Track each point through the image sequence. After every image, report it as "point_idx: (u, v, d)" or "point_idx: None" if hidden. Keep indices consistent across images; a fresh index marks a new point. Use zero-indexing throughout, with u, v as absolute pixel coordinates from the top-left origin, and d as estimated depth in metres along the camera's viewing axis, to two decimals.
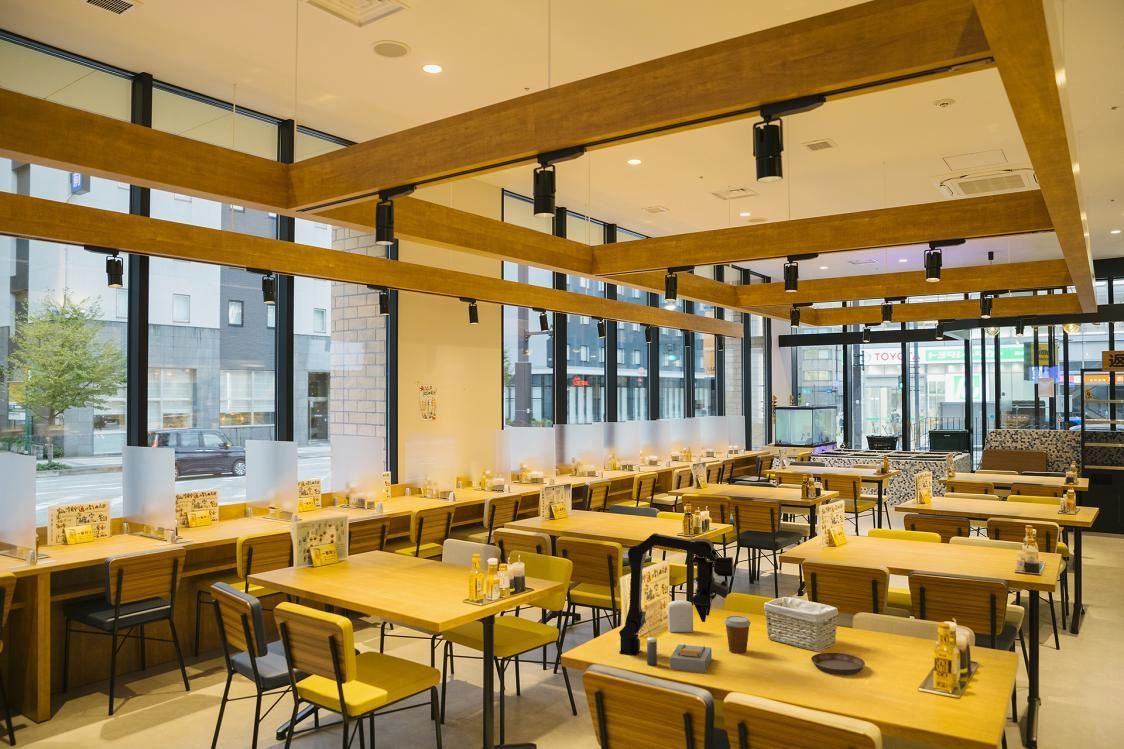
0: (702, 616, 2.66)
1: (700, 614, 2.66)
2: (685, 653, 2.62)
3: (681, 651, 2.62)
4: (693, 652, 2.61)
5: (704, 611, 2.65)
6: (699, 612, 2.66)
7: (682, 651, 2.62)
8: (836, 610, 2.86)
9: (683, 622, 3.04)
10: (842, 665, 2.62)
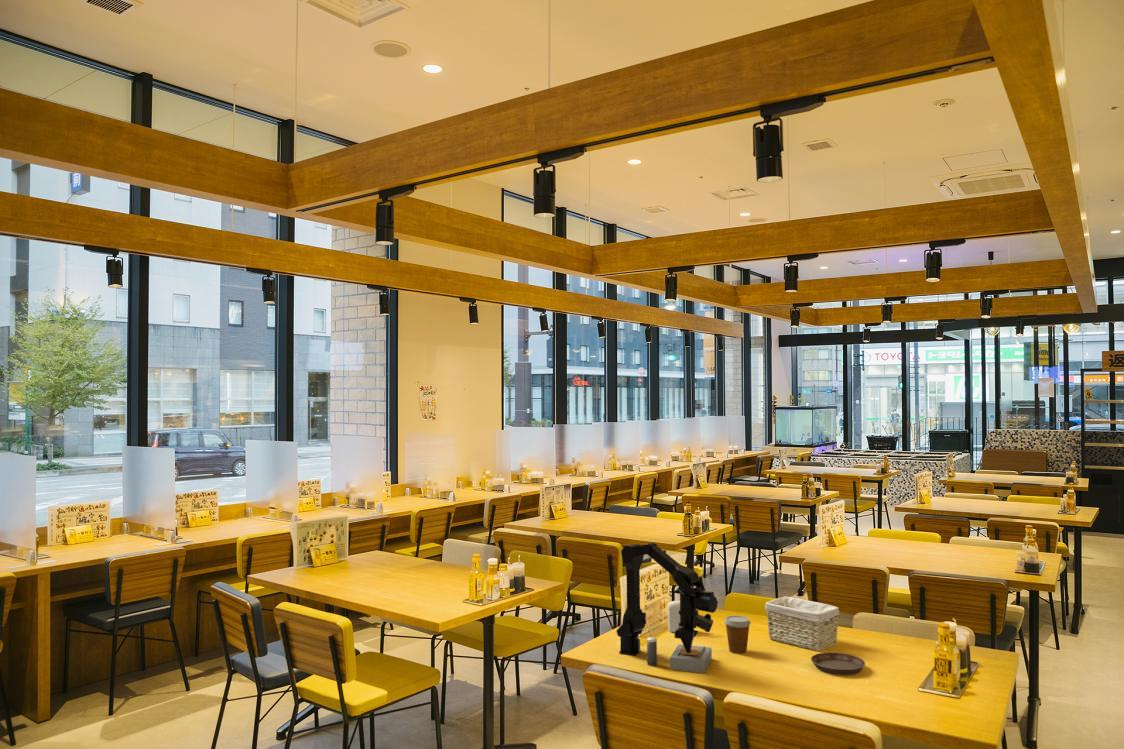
0: (687, 647, 2.61)
1: (685, 645, 2.61)
2: (686, 652, 2.63)
3: (682, 650, 2.63)
4: (694, 651, 2.62)
5: (689, 642, 2.61)
6: (684, 643, 2.61)
7: (683, 650, 2.63)
8: (837, 610, 2.87)
9: None
10: (842, 665, 2.62)
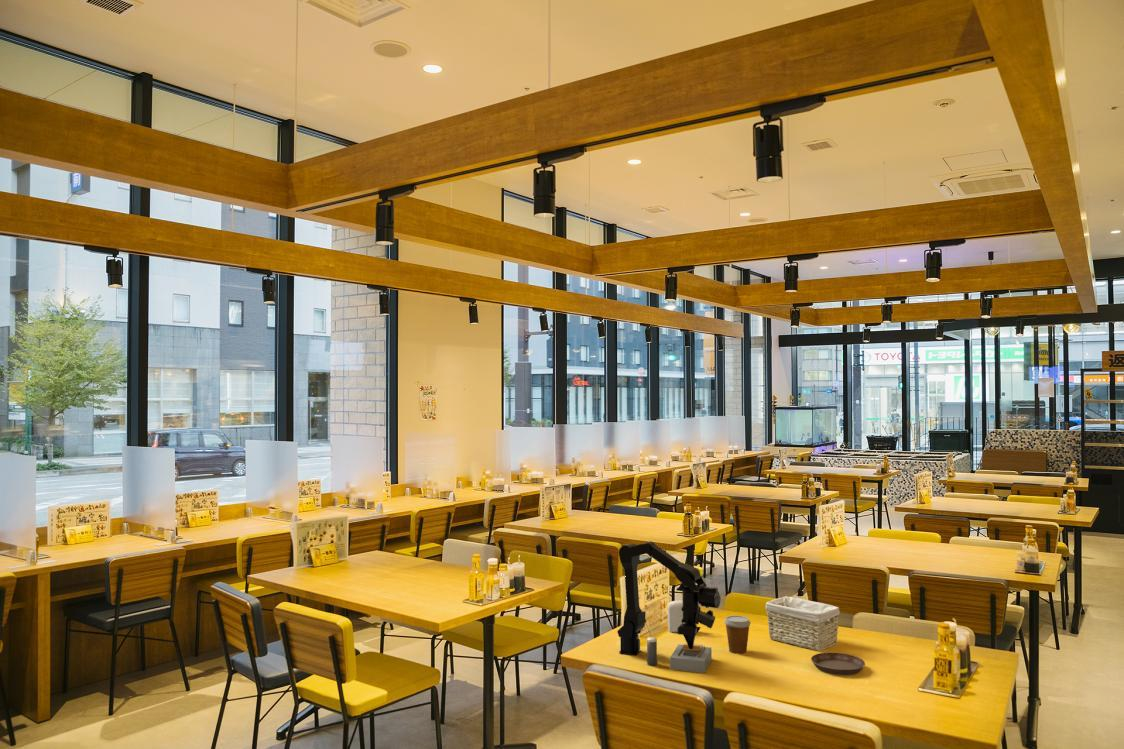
0: (689, 643, 2.66)
1: (688, 641, 2.66)
2: (688, 648, 2.67)
3: (684, 646, 2.68)
4: (696, 647, 2.67)
5: (691, 638, 2.65)
6: (686, 639, 2.66)
7: (685, 646, 2.68)
8: (838, 610, 2.87)
9: None
10: (842, 665, 2.62)
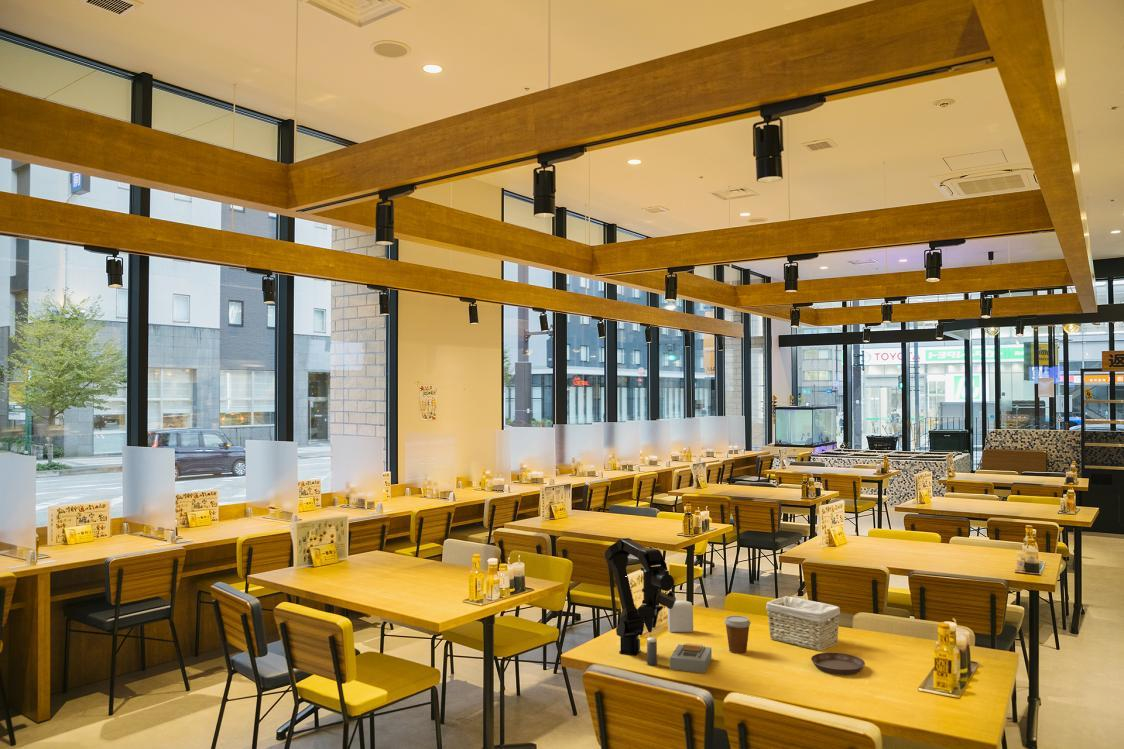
0: (648, 626, 2.63)
1: (647, 624, 2.63)
2: (688, 648, 2.68)
3: (684, 646, 2.68)
4: (696, 647, 2.67)
5: (650, 621, 2.62)
6: (645, 622, 2.63)
7: (685, 646, 2.68)
8: (838, 609, 2.88)
9: (683, 622, 3.04)
10: (842, 665, 2.62)
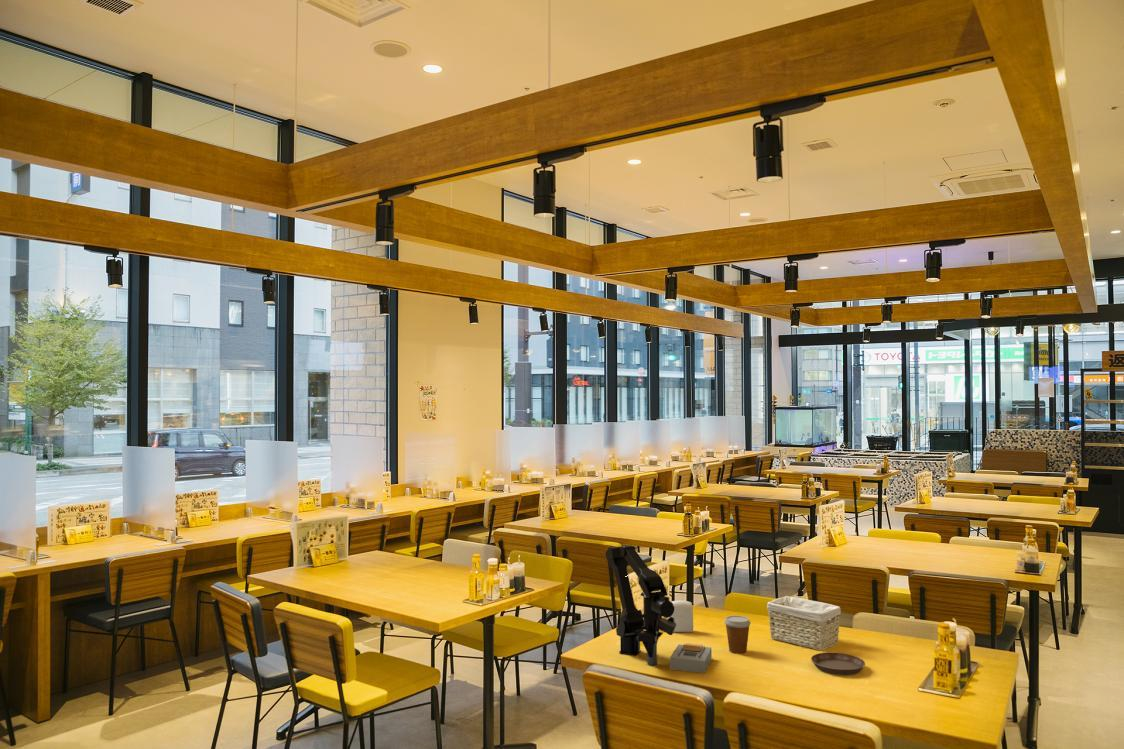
0: (649, 651, 2.63)
1: (647, 650, 2.63)
2: (688, 648, 2.68)
3: (684, 646, 2.68)
4: (696, 647, 2.67)
5: (651, 646, 2.63)
6: (646, 647, 2.63)
7: (685, 646, 2.68)
8: (839, 609, 2.88)
9: (683, 622, 3.04)
10: (842, 665, 2.62)
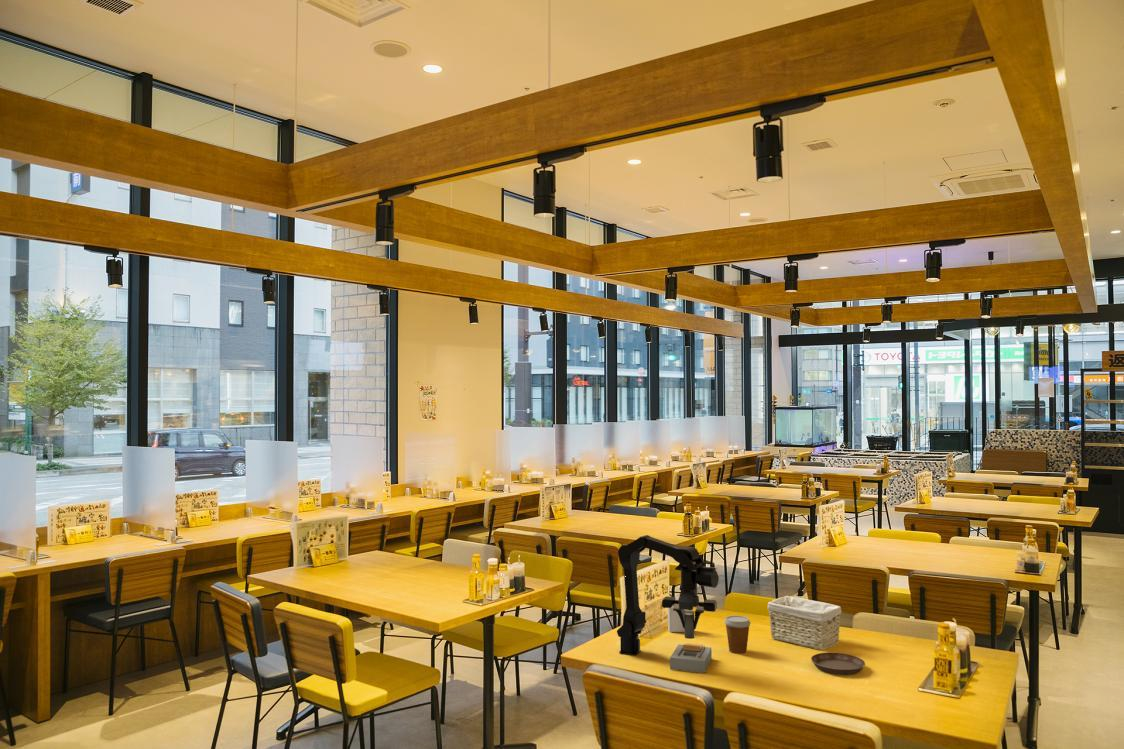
0: None
1: None
2: (688, 648, 2.68)
3: (684, 646, 2.68)
4: (696, 647, 2.67)
5: None
6: None
7: (685, 646, 2.68)
8: (839, 609, 2.88)
9: None
10: (842, 665, 2.62)
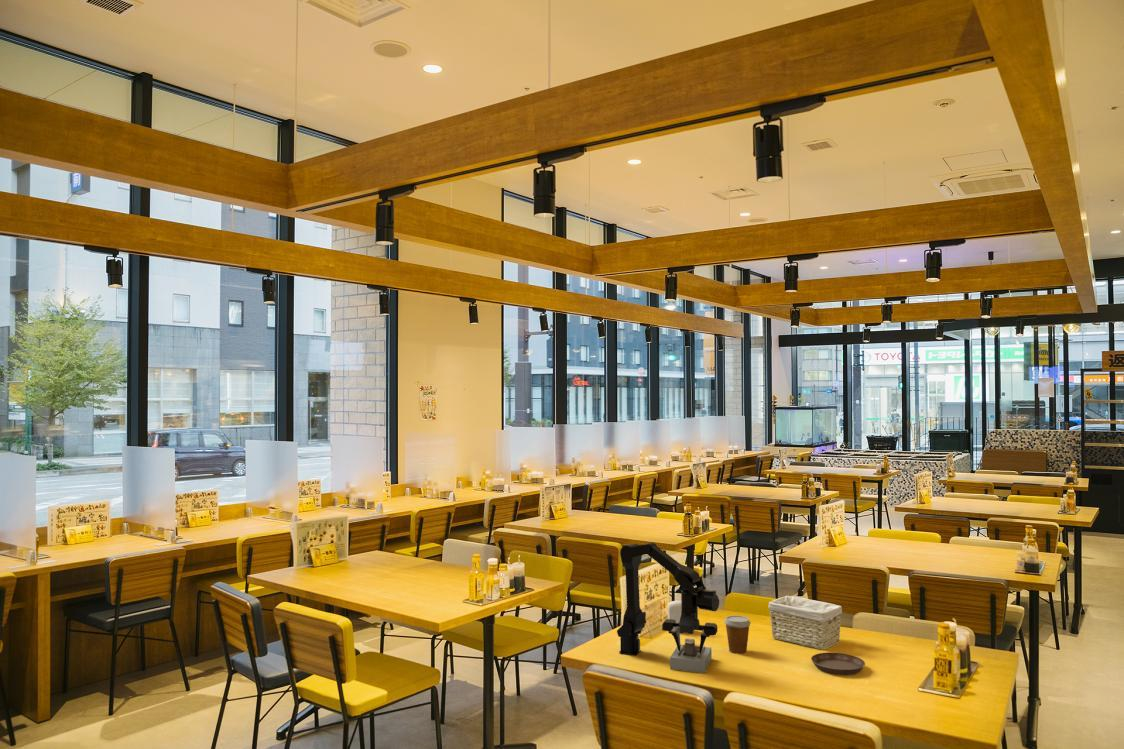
0: None
1: None
2: None
3: (684, 646, 2.68)
4: (696, 647, 2.67)
5: None
6: None
7: None
8: (840, 608, 2.89)
9: None
10: (842, 665, 2.63)
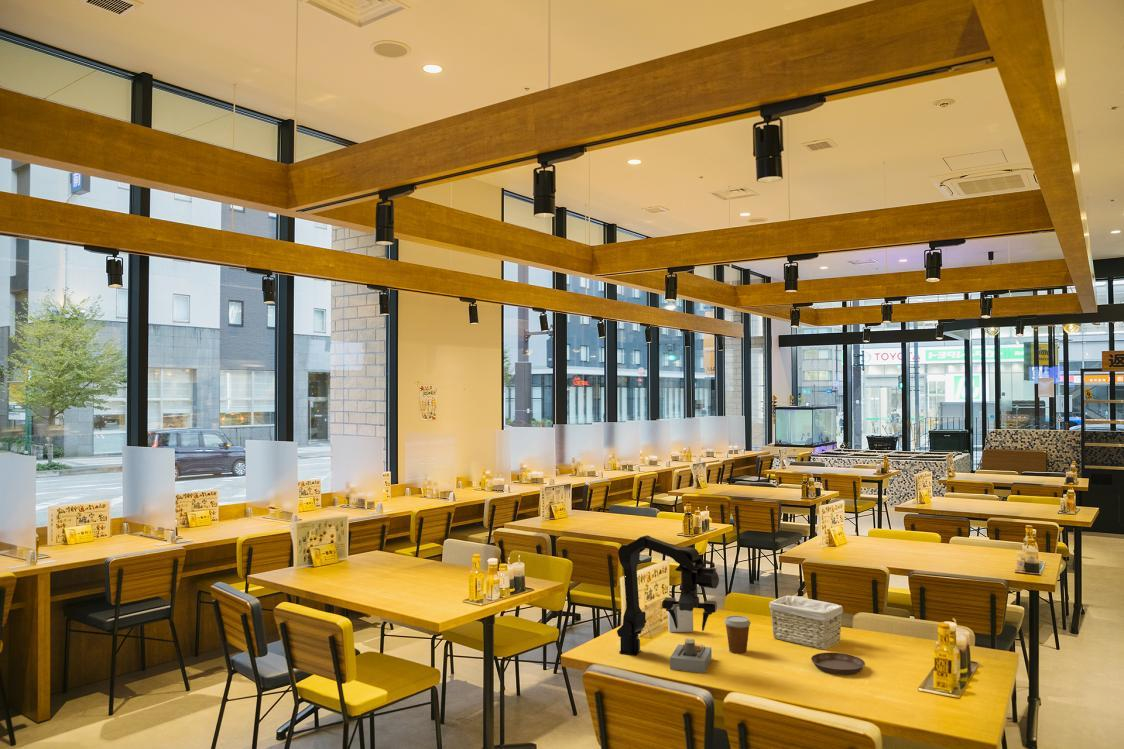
0: None
1: None
2: None
3: (684, 646, 2.68)
4: (696, 647, 2.67)
5: None
6: None
7: None
8: (841, 608, 2.89)
9: (683, 622, 3.04)
10: (842, 665, 2.63)
